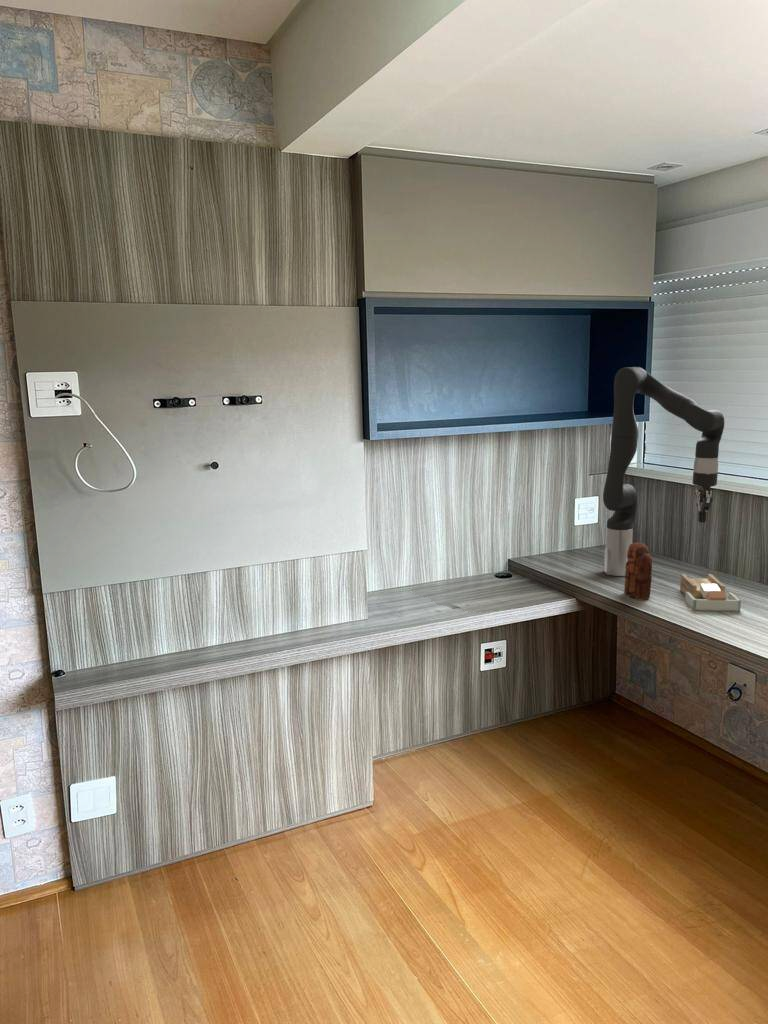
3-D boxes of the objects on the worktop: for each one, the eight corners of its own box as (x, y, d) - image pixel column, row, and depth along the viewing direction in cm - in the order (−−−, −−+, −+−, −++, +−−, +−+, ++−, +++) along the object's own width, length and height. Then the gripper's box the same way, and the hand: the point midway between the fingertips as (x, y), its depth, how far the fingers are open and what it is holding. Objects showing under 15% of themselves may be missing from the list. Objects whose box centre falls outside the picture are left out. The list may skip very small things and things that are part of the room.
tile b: (704, 599, 244) (706, 606, 242) (708, 591, 240) (710, 597, 239) (720, 600, 244) (722, 606, 242) (725, 591, 240) (726, 597, 238)
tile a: (703, 597, 243) (704, 591, 242) (699, 590, 248) (700, 583, 247) (720, 597, 242) (721, 590, 242) (715, 590, 247) (716, 583, 246)
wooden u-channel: (691, 602, 249) (692, 585, 248) (680, 589, 263) (680, 573, 262) (724, 603, 247) (725, 586, 246) (710, 590, 262) (711, 574, 261)
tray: (693, 610, 240) (693, 600, 239) (685, 602, 249) (686, 591, 248) (740, 611, 238) (740, 600, 238) (730, 603, 247) (731, 592, 246)
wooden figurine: (618, 591, 262) (620, 540, 259) (635, 590, 264) (637, 538, 261) (637, 601, 251) (640, 547, 248) (655, 599, 252) (657, 546, 249)
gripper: (688, 467, 262) (685, 517, 266) (698, 473, 249) (694, 525, 253) (711, 468, 261) (708, 518, 265) (723, 473, 248) (718, 526, 252)
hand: (701, 521), depth 259 cm, fingers closed
